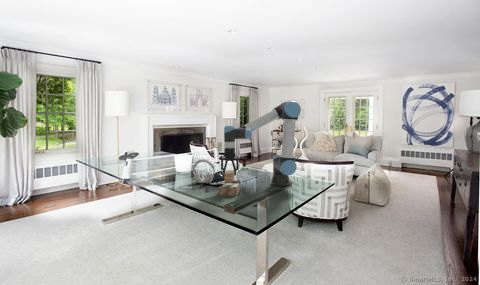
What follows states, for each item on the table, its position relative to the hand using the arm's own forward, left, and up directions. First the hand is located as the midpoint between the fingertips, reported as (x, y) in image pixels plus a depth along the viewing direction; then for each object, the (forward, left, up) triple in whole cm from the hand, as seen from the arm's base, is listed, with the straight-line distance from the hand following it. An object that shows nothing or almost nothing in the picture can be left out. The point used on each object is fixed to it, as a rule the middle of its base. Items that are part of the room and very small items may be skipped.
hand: (229, 179), depth 190 cm
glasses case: (0, 0, -1) cm, 1 cm away
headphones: (+26, -22, -9) cm, 35 cm away
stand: (0, 0, -9) cm, 9 cm away
